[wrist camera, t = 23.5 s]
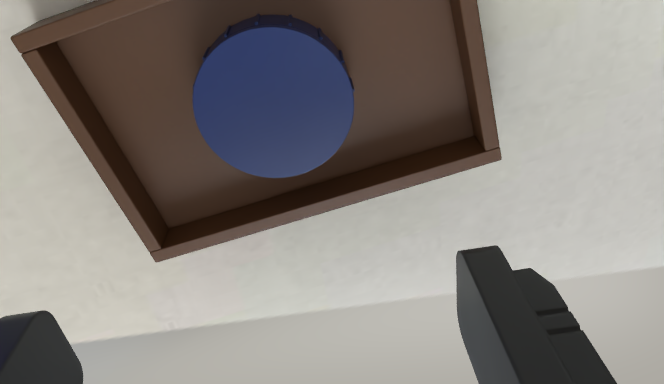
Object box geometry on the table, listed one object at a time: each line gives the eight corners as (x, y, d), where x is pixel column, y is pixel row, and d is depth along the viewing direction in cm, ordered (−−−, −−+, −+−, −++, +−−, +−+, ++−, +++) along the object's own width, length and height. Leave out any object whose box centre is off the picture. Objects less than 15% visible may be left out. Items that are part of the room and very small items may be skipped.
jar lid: (192, 11, 18) (182, 23, 17) (354, 15, 19) (360, 28, 17) (206, 156, 21) (199, 178, 20) (346, 157, 22) (350, 179, 20)
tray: (485, 137, 22) (502, 159, 21) (165, 234, 24) (155, 263, 22) (440, -125, 17) (458, -125, 15) (35, 22, 19) (8, 37, 17)
